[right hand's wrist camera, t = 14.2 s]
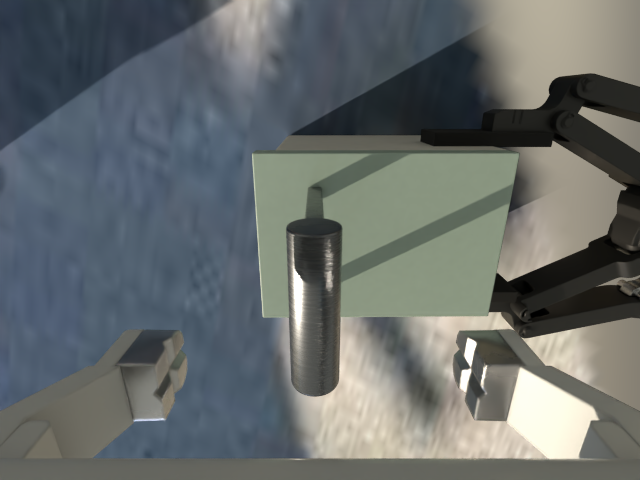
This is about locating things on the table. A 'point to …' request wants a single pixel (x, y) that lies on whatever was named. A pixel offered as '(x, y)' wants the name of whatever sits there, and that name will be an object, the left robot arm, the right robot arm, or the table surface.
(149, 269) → the table surface
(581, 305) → the left robot arm
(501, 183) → the lid
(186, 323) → the table surface
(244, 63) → the table surface
